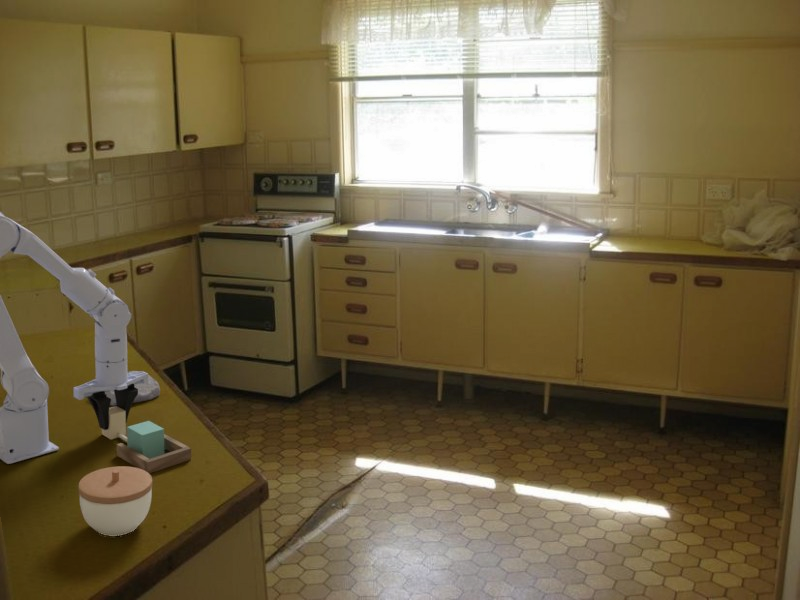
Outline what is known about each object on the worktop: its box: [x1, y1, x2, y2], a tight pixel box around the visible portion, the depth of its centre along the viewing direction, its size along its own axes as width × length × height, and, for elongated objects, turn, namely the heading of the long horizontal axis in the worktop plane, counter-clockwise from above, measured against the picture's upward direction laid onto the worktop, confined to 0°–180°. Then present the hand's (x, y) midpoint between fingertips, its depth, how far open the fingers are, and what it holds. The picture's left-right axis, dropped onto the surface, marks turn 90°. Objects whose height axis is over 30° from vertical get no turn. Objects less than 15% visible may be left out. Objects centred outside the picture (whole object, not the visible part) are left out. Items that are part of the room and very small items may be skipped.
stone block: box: [105, 370, 161, 407], centre depth 186 cm, size 12×5×10 cm
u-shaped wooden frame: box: [116, 433, 192, 474], centre depth 158 cm, size 10×9×2 cm
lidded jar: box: [77, 465, 153, 536], centre depth 133 cm, size 11×11×9 cm
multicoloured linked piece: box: [101, 405, 165, 459], centre depth 162 cm, size 15×4×5 cm, turn 48°
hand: (112, 425), depth 166 cm, fingers closed on multicoloured linked piece, 3 cm apart
